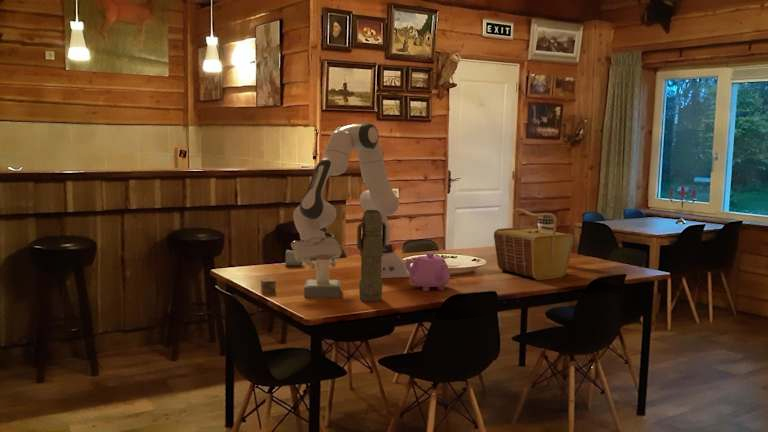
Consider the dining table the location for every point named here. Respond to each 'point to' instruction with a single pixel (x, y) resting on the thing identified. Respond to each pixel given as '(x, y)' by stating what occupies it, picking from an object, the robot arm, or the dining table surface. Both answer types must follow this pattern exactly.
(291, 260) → the ceramic mug
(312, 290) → the plinth
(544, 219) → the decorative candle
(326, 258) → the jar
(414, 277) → the purple piggy bank
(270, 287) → the walnut cube
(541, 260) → the picnic basket
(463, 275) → the dining table surface
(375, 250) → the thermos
